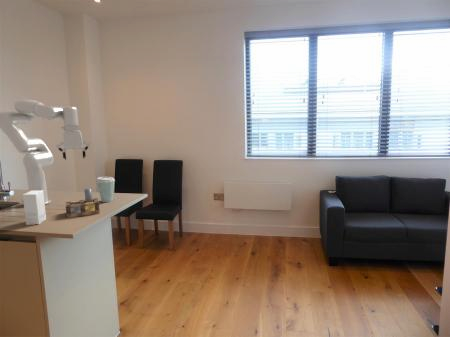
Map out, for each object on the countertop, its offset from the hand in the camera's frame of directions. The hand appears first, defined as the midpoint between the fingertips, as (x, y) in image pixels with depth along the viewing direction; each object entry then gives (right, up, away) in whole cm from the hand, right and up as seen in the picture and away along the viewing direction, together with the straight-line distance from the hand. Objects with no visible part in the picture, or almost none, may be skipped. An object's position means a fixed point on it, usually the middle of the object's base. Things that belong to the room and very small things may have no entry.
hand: (74, 158), depth 182 cm
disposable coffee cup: (+13, -26, +15) cm, 33 cm away
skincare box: (-8, -33, -24) cm, 41 cm away
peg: (+12, -28, -8) cm, 31 cm away
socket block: (+9, -30, -10) cm, 33 cm away
